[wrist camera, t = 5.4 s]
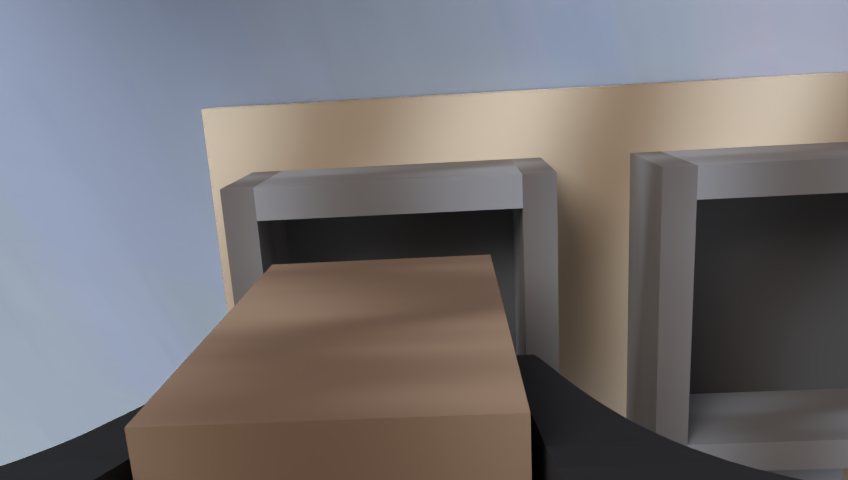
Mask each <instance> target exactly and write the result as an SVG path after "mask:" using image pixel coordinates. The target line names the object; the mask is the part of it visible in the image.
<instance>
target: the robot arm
mask: <svg viewBox="0 0 848 480" xmlns="http://www.w3.org/2000/svg"><path fill="white" fill-rule="evenodd" d="M516 358H517V361H518V365H519V369H520V373H521V377H522V381H523V385H524V389H525V393H526V397H527V401H528V405H529V409H530V413H531V459H532V480H802V479H797V478H793V477H789V476H785V475H780V474H776V473H772V472H768V471H763V470H759V469H755V468H752V467H748V466H745V465H741V464H738V463H734V462H731V461H728V460H725V459H722V458H719V457H716V456H713V455H710V454H707V453H704V452H701V451H698V450H696V449H693V448H690V447H687V446H685V445H682V444H680V443H677V442H675V441H672V440H670V439H668V438H666V437H664V436H661V435H659V434H657V433H655V432H653V431H651V430H649V429H646V428H644V427H642V426H640V425H638V424H636V423H634V422H632V421H630V420H629V419H627V418H625V417H623V416H622V415H620V414H618V413H617V412H615V411H613V410H612V409H610V408H608V407H607V406H605V405H603V404H602V403H600V402H599V401H597V400H595V399H594V398H592V397H591V396H589V395H588V394H587V393H585V392H584V391H582V390H581V389H579V388H578V387H577V386H575V385H574V384H573V383H571V382H570V381H568V380H567V379H566V378H565V377H563V376H562V375H561V374H559V373H558V372H557V371H555V370H554V369H553V368H552V367H550V366H549V365H548V364H547V363H545V362H544V361H543V360H541V359H540V358H539V357H537V356H536V355H516ZM143 406H144V405H143ZM143 406H141V407H139V408H137V409H135V410H133V411H131V412H129V413H127V414H125V415H123V416H121V417H119V418H117V419H114V420H112V421H110V422H108V423H106V424H104V425H102V426H100V427H98V428H96V429H94V430H92V431H89V432H87V433H85V434H83V435H81V436H78V437H76V438H74V439H71V440H69V441H67V442H64V443H62V444H59V445H57V446H55V447H52V448H49V449H47V450H44V451H41V452H39V453H36V454H34V455H31V456H28V457H26V458H23V459H20V460H17V461H15V462H12V463H9V464H6V465H3V466H0V480H133V476H132V470H131V464H130V458H129V453H128V447H127V441H126V435H125V429H124V427H125V426H126V425H127V424H128V423H129V422H130V421H131V420H132V419H133V417H134V416H135V415H136V414H137V413H138V412H139V411H140V410H141V409H142V408H143Z"/></svg>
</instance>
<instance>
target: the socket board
mask: <svg viewBox="0 0 848 480" xmlns="http://www.w3.org/2000/svg"><path fill="white" fill-rule="evenodd" d="M201 110H202V117H203V125H204V133H205V140H206V148H207V156H208V164H209V171H210V179H211V187H212V194H213V202H214V210H215V218H216V225H217V233H218V241H219V249H220V256H221V264H222V272H223V279H224V287H225V295H226V303H227V310H228V313H229V312H230V310H231V309H232V308H233V307H234V306H235V305H236V304H237V303H238V302H239V300H240V299H241V298H242V297H243V296H244V295H245V294H246V293H247V292H248V291H249V289H250V288H251V287H252V286H253V285H254V284H255V283H256V282H257V281H258V280H259V278H260V277H261V276H262V275H263V274H264V273H265V272H266V271H267V270H268V268H269V267H270V266H271V265H273V264H295V263H317V262H339V261H361V260H383V259H405V258H426V257H448V256H470V255H491V259H492V263H493V267H494V271H495V275H496V279H497V283H498V286H499V290H500V294H501V298H502V302H503V306H504V310H505V314H506V318H507V322H508V326H509V330H510V334H511V338H512V342H513V346H514V350H515V354H516V355H536V356H537V357H539V358H540V359H541V360H543V361H544V362H545V363H547V364H548V365H549V366H550V367H552V368H553V369H554V370H555V371H557V372H558V373H559V374H561V375H562V376H563V377H565V378H566V379H567V380H568V381H570V382H571V383H573V384H574V385H575V386H577V387H578V388H579V389H581V390H582V391H584V392H585V393H587V394H588V395H589V396H591V397H592V398H594V399H595V400H597V401H599V402H600V403H602V404H603V405H605V406H607V407H608V408H610V409H612V410H613V411H615V412H617V413H618V414H620V415H622V416H623V417H625V418H627V419H629V420H630V421H632V422H634V423H636V424H638V425H640V426H642V427H644V428H646V429H649V430H651V431H653V432H655V433H657V434H659V435H661V436H664V437H666V438H668V439H670V440H672V441H675V442H677V443H680V444H682V445H685V446H687V447H690V448H693V449H696V450H698V451H701V452H704V453H707V454H710V455H713V456H716V457H719V458H722V459H725V460H728V461H731V462H734V463H738V464H741V465H745V466H748V467H752V468H755V469H759V470H763V471H768V472H772V473H776V474H780V475H785V476H789V477H793V478H797V479H802V480H848V72H839V73H821V74H803V75H786V76H768V77H750V78H732V79H714V80H696V81H678V82H660V83H642V84H624V85H606V86H588V87H570V88H552V89H534V90H516V91H499V92H481V93H463V94H445V95H427V96H409V97H391V98H373V99H355V100H337V101H319V102H301V103H283V104H265V105H247V106H229V107H214V108H207V109H201Z"/></svg>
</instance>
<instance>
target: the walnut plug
mask: <svg viewBox="0 0 848 480" xmlns="http://www.w3.org/2000/svg"><path fill="white" fill-rule="evenodd" d="M124 429H125V435H126V441H127V447H128V453H129V458H130V464H131V470H132V476H133V480H532V459H531V413H530V409H529V405H528V401H527V397H526V393H525V389H524V385H523V381H522V377H521V373H520V369H519V365H518V361H517V358H516V354H515V350H514V346H513V342H512V338H511V334H510V330H509V326H508V322H507V318H506V314H505V310H504V306H503V302H502V298H501V294H500V290H499V286H498V283H497V279H496V275H495V271H494V267H493V263H492V259H491V255H470V256H448V257H426V258H405V259H383V260H361V261H339V262H317V263H295V264H273V265H271V266H270V267H269V268H268V270H267V271H266V272H265V273H264V274H263V275H262V276H261V277H260V278H259V280H258V281H257V282H256V283H255V284H254V285H253V286H252V287H251V288H250V289H249V291H248V292H247V293H246V294H245V295H244V296H243V297H242V298H241V299H240V300H239V302H238V303H237V304H236V305H235V306H234V307H233V308H232V309H231V310H230V312H229V313H228V314H227V315H226V316H225V317H224V318H223V319H222V320H221V321H220V323H219V324H218V325H217V326H216V327H215V328H214V329H213V330H212V331H211V332H210V334H209V335H208V336H207V337H206V338H205V339H204V340H203V341H202V342H201V344H200V345H199V346H198V347H197V348H196V349H195V350H194V351H193V352H192V353H191V355H190V356H189V357H188V358H187V359H186V360H185V361H184V362H183V363H182V364H181V366H180V367H179V368H178V369H177V370H176V371H175V372H174V373H173V374H172V376H171V377H170V378H169V379H168V380H167V381H166V382H165V383H164V384H163V385H162V387H161V388H160V389H159V390H158V391H157V392H156V393H155V394H154V395H153V396H152V398H151V399H150V400H149V401H148V402H147V403H146V404H145V405H144V406H143V408H142V409H141V410H140V411H139V412H138V413H137V414H136V415H135V416H134V417H133V419H132V420H131V421H130V422H129V423H128V424H127V425H126V426H125V427H124Z"/></svg>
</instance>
